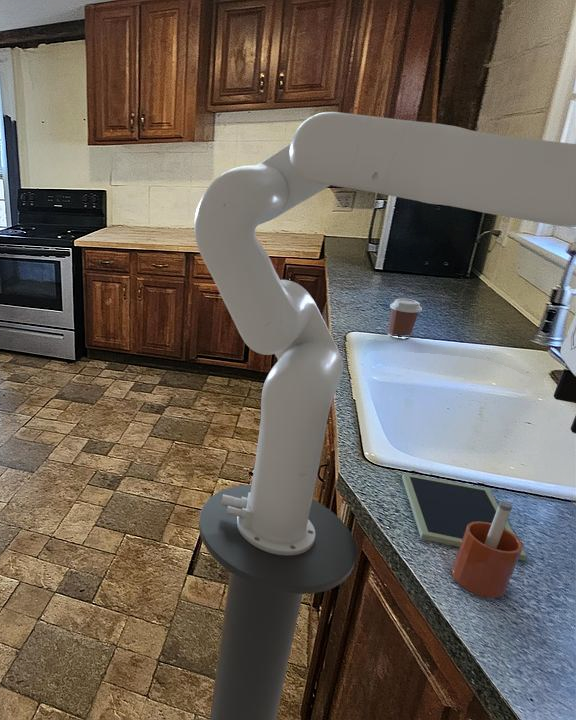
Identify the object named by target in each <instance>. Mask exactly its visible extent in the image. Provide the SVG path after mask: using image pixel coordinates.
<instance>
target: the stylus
mask: <svg viewBox="0 0 576 720" xmlns="http://www.w3.org/2000/svg"><path fill="white" fill-rule="evenodd" d="M498 505H499V506H498V508H497V511H496V514H495V517H494V519H493V522H492V525H491V527H490V530H489V533H488V535H487V538H486V541H485V545H487V546H489V547H491V548H494V549H496V548H497V546H498V543H499V541H500V538H501V535H502V533H503V530H504V527H505V525H506V522H508V520H509V517H510V515H511V512H512V509H513V505H512V504H511V503H510V502H507V501H504V500H503V501H502V500H501V501H500V502H499V503H498Z"/></svg>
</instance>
